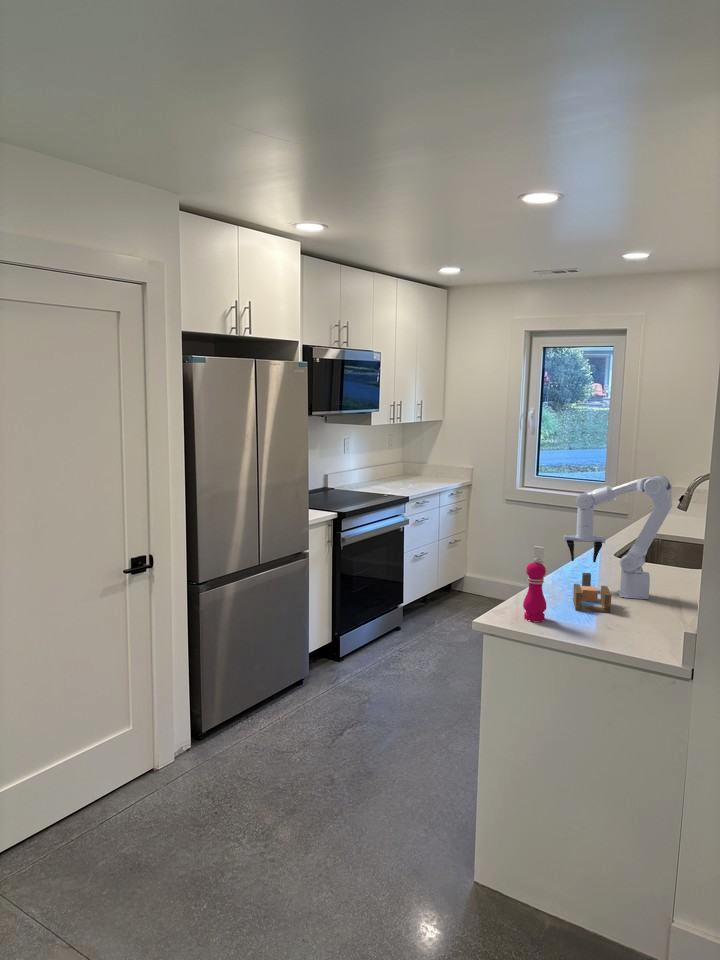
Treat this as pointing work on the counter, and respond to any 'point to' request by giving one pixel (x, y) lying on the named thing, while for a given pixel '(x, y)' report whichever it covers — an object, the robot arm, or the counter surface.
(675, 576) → the counter surface
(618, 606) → the counter surface
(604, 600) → the brown wooden u-shaped piece
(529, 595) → the pepper mill
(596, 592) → the grey and tan dumbbell
